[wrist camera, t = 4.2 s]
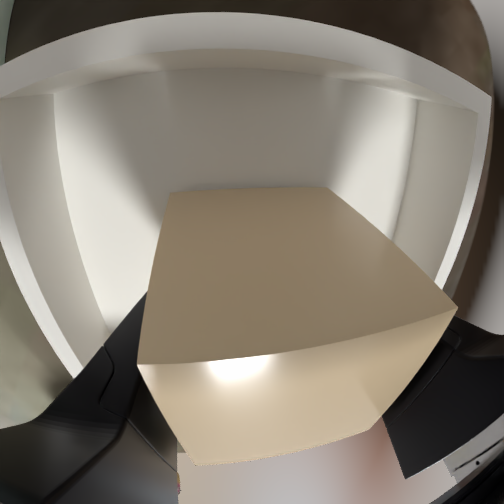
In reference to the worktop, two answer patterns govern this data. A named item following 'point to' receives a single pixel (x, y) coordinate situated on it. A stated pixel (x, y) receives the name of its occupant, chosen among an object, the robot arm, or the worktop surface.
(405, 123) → the bin
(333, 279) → the beige plain cubic block
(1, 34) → the bin
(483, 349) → the robot arm
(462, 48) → the worktop surface
